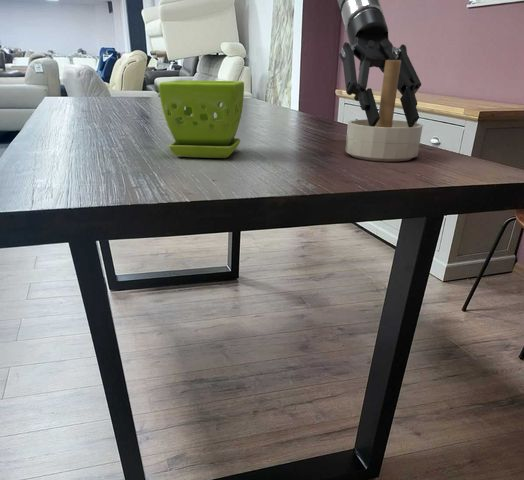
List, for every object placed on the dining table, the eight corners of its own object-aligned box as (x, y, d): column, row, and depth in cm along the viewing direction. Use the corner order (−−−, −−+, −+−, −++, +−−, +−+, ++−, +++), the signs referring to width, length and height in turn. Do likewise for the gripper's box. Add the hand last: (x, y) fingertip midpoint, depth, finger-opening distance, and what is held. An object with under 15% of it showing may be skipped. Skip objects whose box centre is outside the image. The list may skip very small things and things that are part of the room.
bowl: (393, 149, 106) (397, 118, 103) (431, 161, 95) (438, 127, 92) (333, 151, 102) (336, 119, 99) (366, 163, 91) (370, 128, 88)
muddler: (385, 150, 101) (397, 60, 93) (398, 154, 97) (412, 60, 89) (363, 151, 100) (374, 59, 91) (375, 155, 96) (388, 60, 87)
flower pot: (245, 150, 101) (246, 80, 95) (237, 162, 89) (236, 83, 83) (179, 147, 102) (174, 78, 96) (161, 159, 90) (155, 81, 84)
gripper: (400, 42, 104) (430, 135, 99) (311, 39, 98) (337, 137, 93) (419, 9, 97) (452, 108, 92) (324, 4, 91) (353, 108, 86)
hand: (394, 122), depth 92 cm, fingers open, 8 cm apart
